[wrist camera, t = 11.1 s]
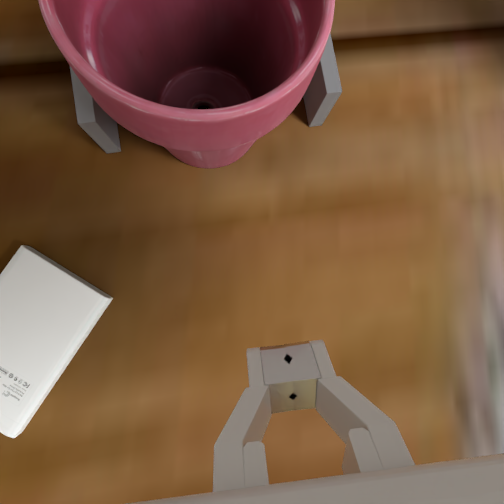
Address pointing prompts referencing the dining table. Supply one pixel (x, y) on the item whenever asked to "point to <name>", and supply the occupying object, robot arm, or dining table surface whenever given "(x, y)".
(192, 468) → the dining table surface
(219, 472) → the robot arm
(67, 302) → the external hard drive
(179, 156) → the plant pot
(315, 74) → the frame
